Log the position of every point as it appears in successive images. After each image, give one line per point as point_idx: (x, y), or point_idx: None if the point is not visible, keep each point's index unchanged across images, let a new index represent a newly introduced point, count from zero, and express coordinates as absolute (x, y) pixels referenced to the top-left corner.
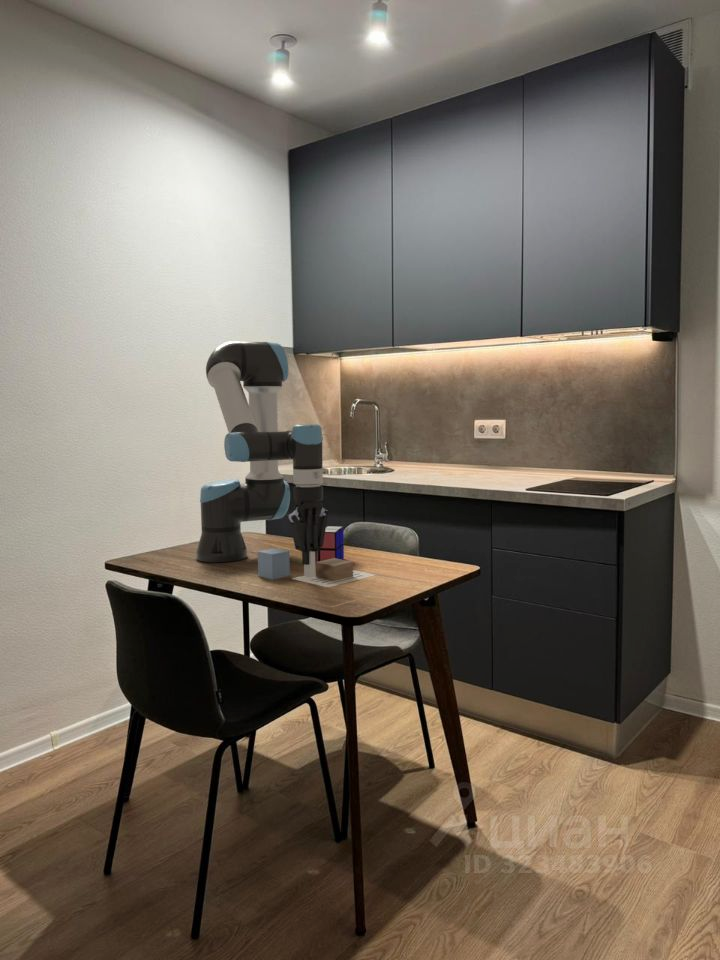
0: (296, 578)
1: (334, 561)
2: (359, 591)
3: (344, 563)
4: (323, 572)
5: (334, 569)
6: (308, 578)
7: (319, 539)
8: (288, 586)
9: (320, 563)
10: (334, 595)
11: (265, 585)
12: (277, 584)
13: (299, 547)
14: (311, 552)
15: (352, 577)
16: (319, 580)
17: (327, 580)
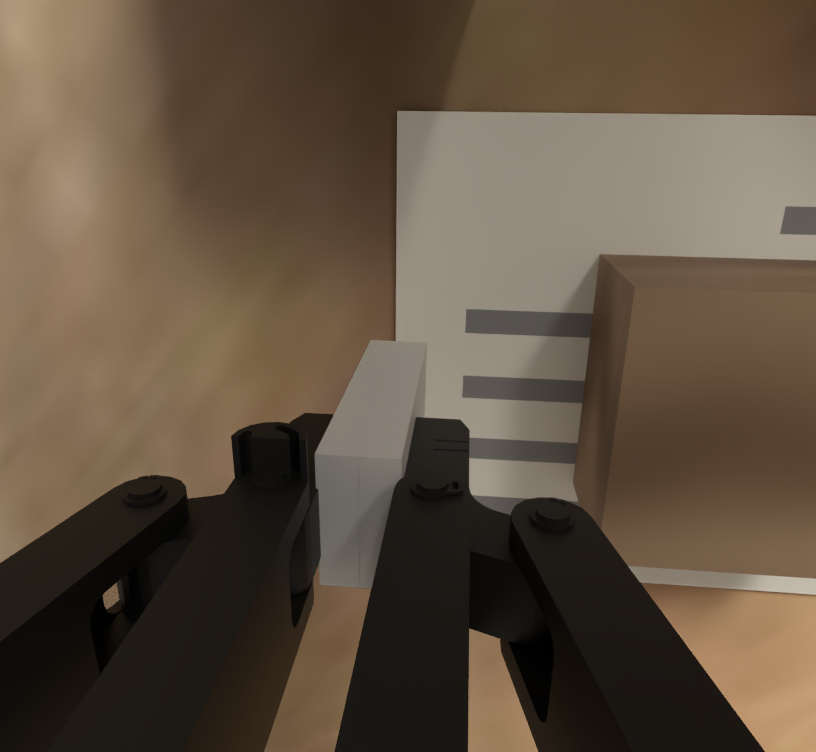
0: (433, 150)
1: (797, 431)
2: (474, 745)
3: (763, 572)
4: (598, 381)
5: None
6: (507, 246)
7: (529, 708)
8: (214, 298)
9: (621, 372)
10: (296, 692)
11: (79, 106)
12: (183, 166)
13: (118, 585)
14: (334, 584)
15: None
16: (514, 377)
17: (557, 429)
